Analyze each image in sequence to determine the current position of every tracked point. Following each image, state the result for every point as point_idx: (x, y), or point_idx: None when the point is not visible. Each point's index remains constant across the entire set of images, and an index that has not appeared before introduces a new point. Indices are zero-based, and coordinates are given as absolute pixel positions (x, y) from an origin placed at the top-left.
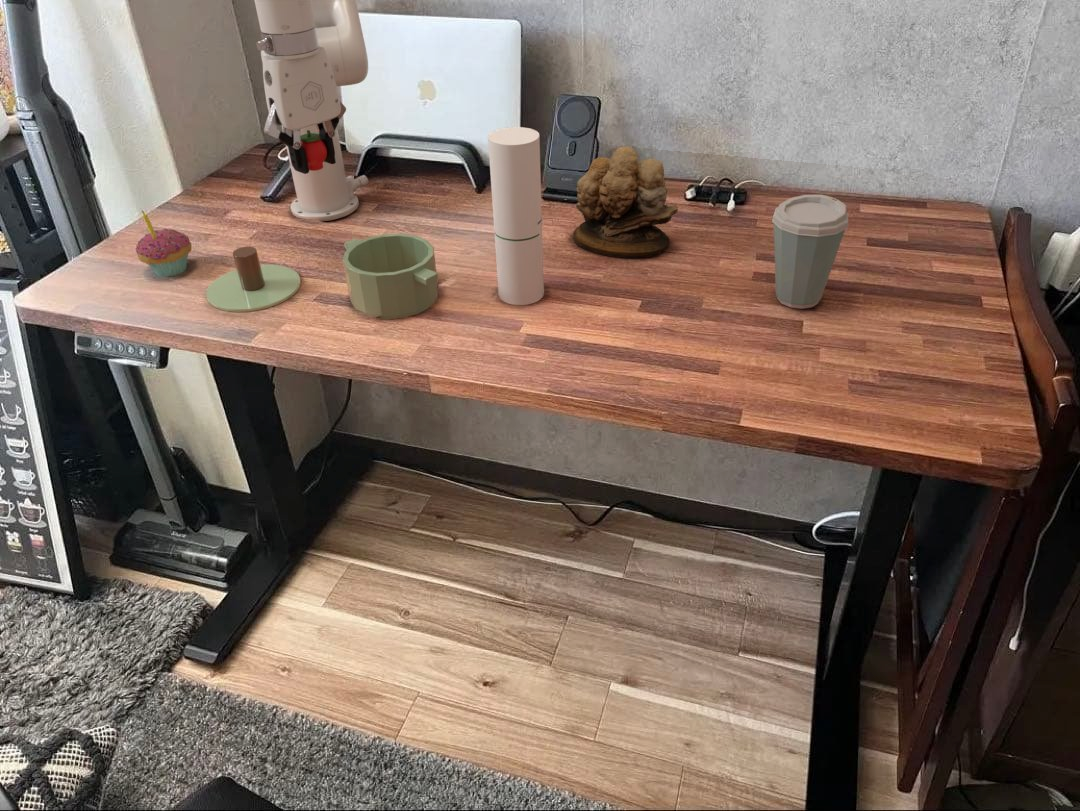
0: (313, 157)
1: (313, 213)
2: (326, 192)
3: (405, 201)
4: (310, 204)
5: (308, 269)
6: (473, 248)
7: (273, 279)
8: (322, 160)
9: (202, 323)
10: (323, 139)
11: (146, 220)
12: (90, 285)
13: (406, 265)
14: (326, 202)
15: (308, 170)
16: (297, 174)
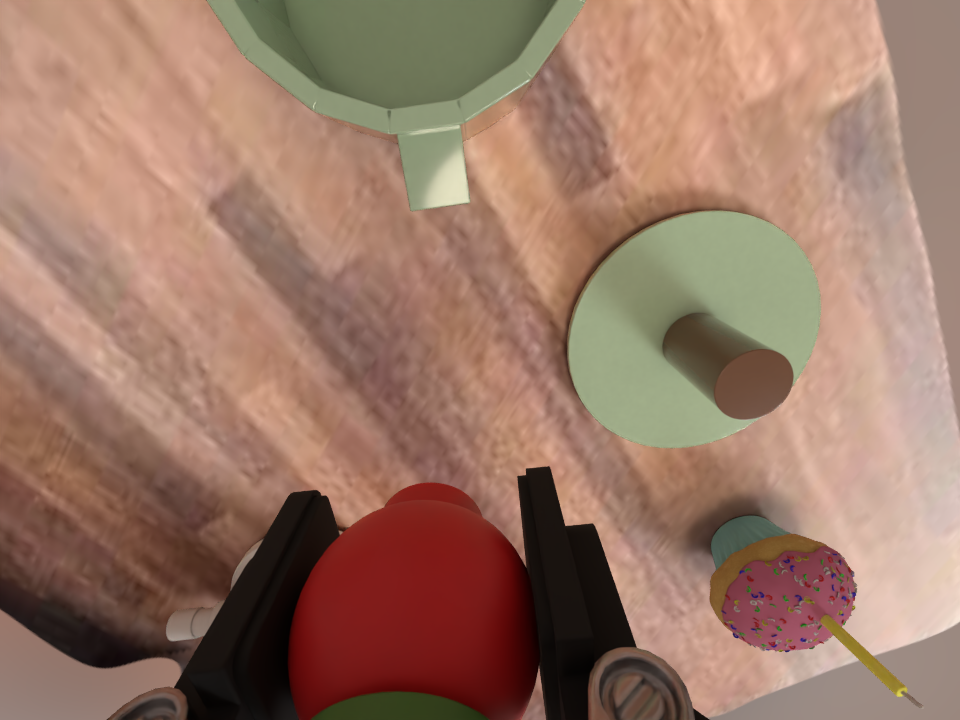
0: (469, 536)
1: None
2: None
3: (123, 504)
4: None
5: (519, 348)
6: (29, 93)
7: (638, 336)
8: (394, 505)
9: (868, 281)
10: (266, 705)
11: (886, 670)
12: (871, 589)
13: (301, 57)
14: None
15: (526, 476)
16: None
